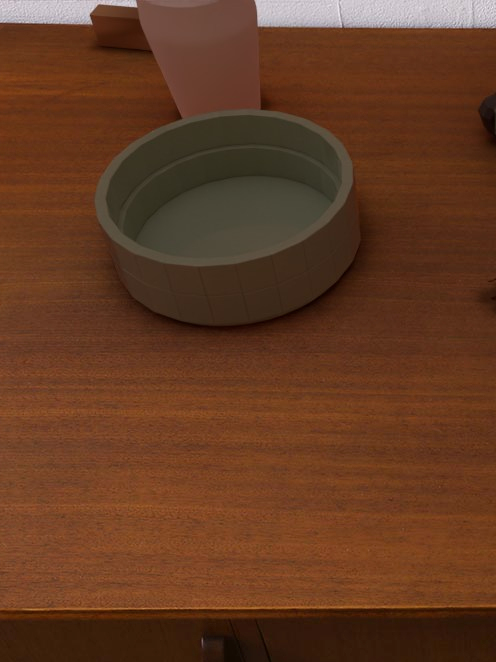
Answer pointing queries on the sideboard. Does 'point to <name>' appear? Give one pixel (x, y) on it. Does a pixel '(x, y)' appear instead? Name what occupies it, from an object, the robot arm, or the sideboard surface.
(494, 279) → the insect
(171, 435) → the sideboard surface
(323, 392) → the sideboard surface
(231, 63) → the cup
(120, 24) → the round-ended wooden block
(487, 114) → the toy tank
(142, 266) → the bowl
